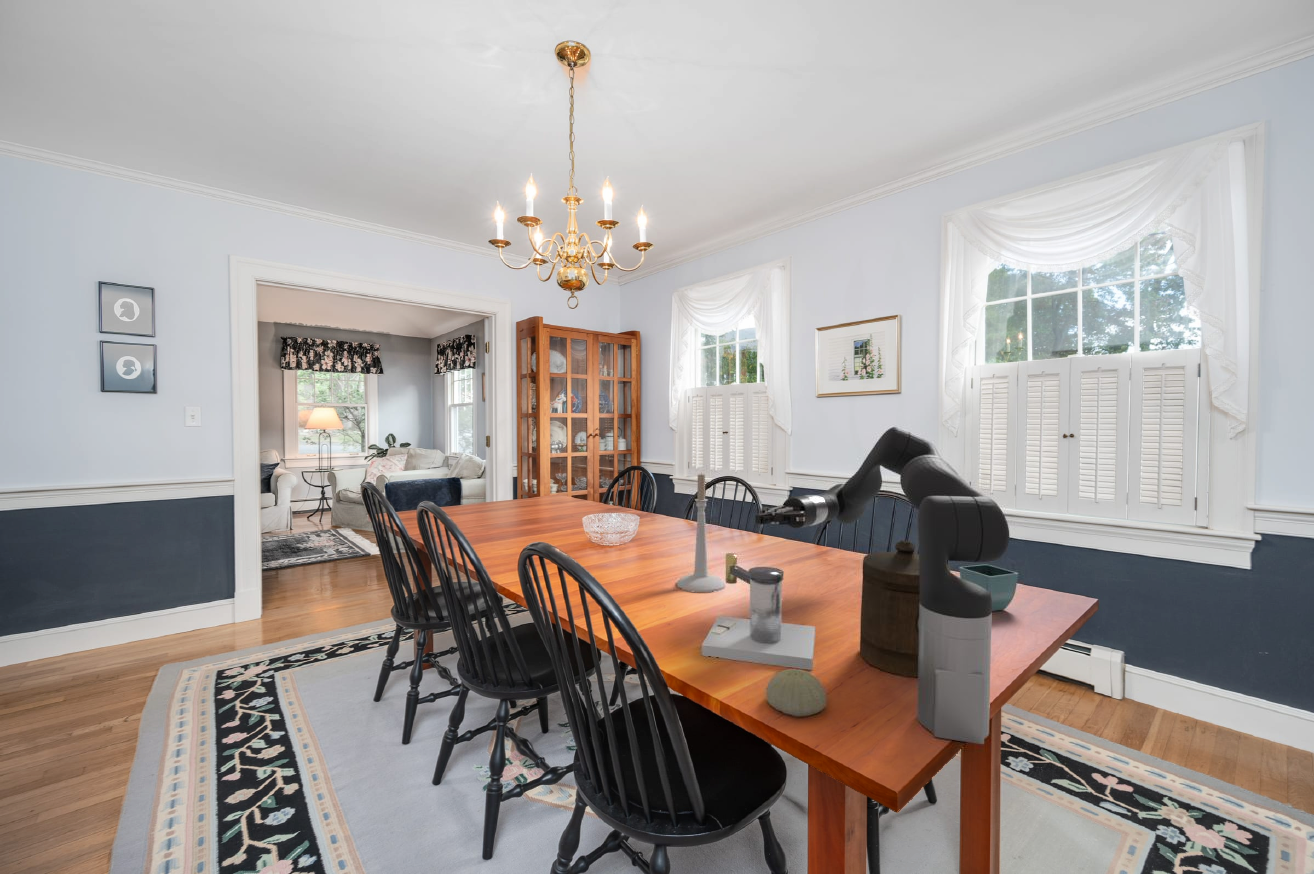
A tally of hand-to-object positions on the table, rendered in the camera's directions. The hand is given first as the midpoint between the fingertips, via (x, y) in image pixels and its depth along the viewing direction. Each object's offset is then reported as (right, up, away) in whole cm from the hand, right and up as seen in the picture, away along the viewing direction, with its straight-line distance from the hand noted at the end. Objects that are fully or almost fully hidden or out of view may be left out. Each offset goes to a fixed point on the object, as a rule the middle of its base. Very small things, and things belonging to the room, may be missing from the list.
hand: (757, 519), depth 127 cm
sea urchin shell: (-1, -23, -40) cm, 46 cm away
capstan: (-4, -19, -13) cm, 24 cm away
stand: (-3, -22, -17) cm, 28 cm away
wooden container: (+22, -22, -24) cm, 40 cm away
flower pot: (+55, -21, +4) cm, 59 cm away
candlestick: (-11, -21, +22) cm, 32 cm away
